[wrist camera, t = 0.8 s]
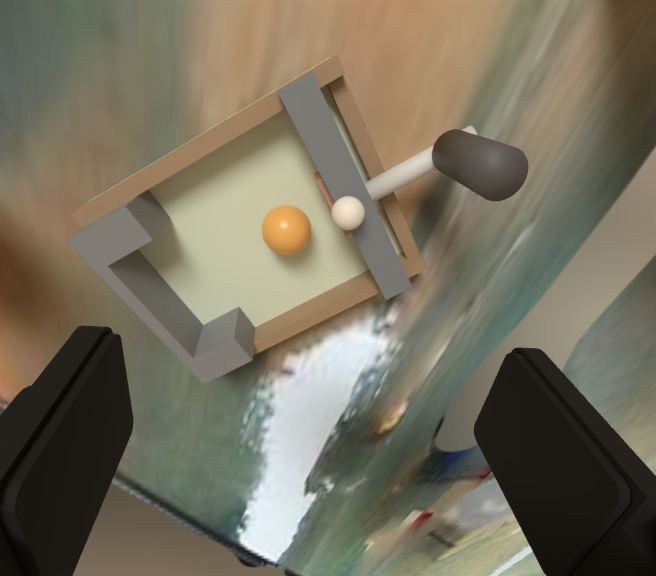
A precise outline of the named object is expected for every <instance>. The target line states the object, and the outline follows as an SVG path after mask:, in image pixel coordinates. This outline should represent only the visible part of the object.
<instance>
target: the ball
mask: <svg viewBox="0 0 656 576" xmlns="http://www.w3.org/2000/svg"><path fill="white" fill-rule="evenodd" d="M262 237H263V239H264V241H265V243H266V245H267V246H268V247H269V248H270V249H271V250H272V251H274V252H276V253H278V254H281V255H292V254H296V253H298V252H300V251H301V250H302V249H304V248H305V247H306V245H307V244H308V242H309V240H310V237H311V224H310V221H309V219H308V217H307V215H306V214H305V213H304V212H303V211H302V210H300V209H299V208H297V207H295V206H291V205H281V206H277V207H275V208H273V209H272V210H271V211H269V212H268V214H267V215H266V216H265V218H264V220H263V223H262Z"/></svg>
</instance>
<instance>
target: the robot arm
mask: <svg viewBox="0 0 656 576" xmlns="http://www.w3.org/2000/svg"><path fill="white" fill-rule="evenodd" d="M132 429H133V413H132V407H131V400H130V394H129V387H128V381H127V374H126V368H125V361H124V355H123V348H122V342H121V337H120V335H119V334H113V332H112V330H111V328H109V327H98V326H79V327H78V328H77V329H76V330H75V331H74V333H73V334H72V335H71V336H70V338H69V339H68V340H67V341H66V343H65V344H64V345H63V346H62V348H61V349H60V350H59V352H58V353H57V354H56V355H55V357H54V358H53V359H52V360H51V362H50V363H49V364H48V365H47V367H46V368H45V369H44V370H43V372H42V373H41V374H40V376H39V377H38V378H37V379H36V381H35V382H34V383H33V384H32V386H28V387H26V388H24V389H23V390H22V391H21V392H20V393H19V394H18V395H17V396H16V397H15V398H14V399H13V401H12V402H11V403H10V404H9V406H8V407H7V408H6V409H5V411H4V412H3V413H2V414H1V416H0V576H72V575H73V573H74V570H75V568H76V566H77V563H78V561H79V558H80V556H81V554H82V551H83V549H84V546H85V544H86V542H87V539H88V537H89V534H90V532H91V530H92V527H93V525H94V522H95V520H96V518H97V515H98V513H99V510H100V508H101V506H102V503H103V501H104V498H105V496H106V494H107V491H108V489H109V486H110V484H111V482H112V479H113V477H114V474H115V472H116V470H117V467H118V465H119V462H120V460H121V458H122V455H123V453H124V450H125V448H126V446H127V443H128V441H129V438H130V436H131V433H132ZM474 435H475V438H476V441H477V443H478V445H479V447H480V449H481V451H482V453H483V455H484V457H485V458H486V460H487V462H488V464H489V466H490V468H491V470H492V472H493V474H494V476H495V478H496V480H497V482H498V484H499V486H500V488H501V490H502V492H503V494H504V496H505V498H506V500H507V502H508V504H509V506H510V507H511V509H512V511H513V513H514V515H515V517H516V519H517V521H518V523H519V525H520V527H521V529H522V531H523V533H524V535H525V537H526V539H527V541H528V543H529V545H530V547H531V549H532V551H533V553H534V555H535V556H536V558H537V560H538V562H539V564H540V566H541V568H542V570H543V572H544V573H545V575H546V576H656V476H655V475H654V474H653V472H652V471H651V470H650V469H649V468H648V467H647V466H646V465H645V464H644V462H643V461H642V460H641V459H640V458H639V457H638V456H637V455H636V454H635V453H634V451H633V450H632V449H631V448H630V447H629V446H628V445H627V444H626V443H625V441H624V440H623V439H622V438H621V437H620V436H619V435H618V434H617V433H616V431H615V430H614V429H613V428H612V427H611V426H610V425H609V424H608V423H607V421H606V420H605V419H604V418H603V417H602V416H601V415H600V414H599V413H598V412H597V410H596V409H595V408H594V407H593V406H592V405H591V404H590V403H589V402H588V400H587V399H586V398H585V397H584V396H583V395H582V394H581V393H580V392H579V390H578V389H577V388H576V387H575V386H574V385H573V384H572V383H571V382H570V381H569V379H568V378H567V377H566V376H565V375H564V374H563V373H562V372H561V371H560V369H559V368H558V367H557V366H556V365H555V364H554V363H553V362H552V361H551V360H550V358H549V357H548V356H547V355H546V354H545V353H544V352H543V351H542V350H540V349H537V348H515V349H513V350H512V352H511V353H508V354H507V355H506V357H505V358H504V361H503V363H502V365H501V367H500V369H499V372H498V374H497V376H496V378H495V381H494V383H493V385H492V387H491V390H490V392H489V394H488V396H487V398H486V401H485V403H484V405H483V407H482V409H481V412H480V414H479V416H478V418H477V420H476V423H475V425H474Z"/></svg>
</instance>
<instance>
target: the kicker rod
mask: <svg viewBox="0 0 656 576" xmlns="http://www.w3.org/2000/svg"><path fill="white" fill-rule="evenodd" d="M277 92H278V94H279V96H280V98H281V100H282V102H283V104H284V105H285V107H286V109H287V111H288V113H289V115H290V117H291V119H292V121H293V123H294V125H295V127H296V129H297V130H298V132H299V134H300V136H301V138H302V140H303V142H304V144H305V146H306V148H307V150H308V152H309V154H310V155H311V157H312V159H313V161H314V163H315V165H316V167H317V169H318V172H316V173H315V174H314V175H315V178H316V181H317V183H318V185H319V187H320V188H321V190H322V192H323V194H324V196H325V198H326V200H327V202H328V204H329V205H330V207H331V209H332V212H331V214H332V219H333V221H334V223H335V224H336V225H337V226H338V227H339V228H341V229H342V230H343V232H344V234H345V236H347V235H349V234H350V233H351V234H352V236H353V238H354V240H355V242H356V244H357V246H358V248H359V250H360V251H361V253H362V255H363V257H364V259H365V261H366V263H367V265H368V267H369V269H370V271H371V273H372V275H373V276H374V278H375V280H376V282H377V284H378V286H379V288H380V290H381V292H382V294H383V296H384V298H385V300H387V299H389V298H391V297H393V296H396V295H398V294H400V293H402V292H404V291H406V290H408V289H410V288H412V285H411V283H410V281H409V279H408V276H407V274H406V272H405V270H404V268H403V266H402V264H401V261H400V259H399V257H398V255H397V253H396V251H395V248H394V246H393V244H392V242H391V240H390V238H389V236H388V233H387V231H386V229H385V227H384V225H383V223H382V221H381V218H380V216H379V214H378V212H377V210H376V208H375V206H374V203H373V202H375V201H377V200H379V199H381V198H383V197H385V196H386V195H388V194H390V193H392V192H394V191H396V190H398V189H400V188H401V187H403V186H405V185H407V184H409V183H411V182H413V181H415V180H416V179H418V178H420V177H422V176H424V175H426V174H428V173H430V172H431V171H433V170H435V169H438V170H439V171H441V172H442V173H444V174H446V175H447V176H449V177H450V178H452V179H454V180H455V181H457V182H459V183H460V184H462V185H464V186H465V187H467V188H469V189H470V190H472V191H474V192H475V193H477V194H478V195H480V196H482V197H483V198H485V199H487V200H490V201H501V200H505V199H507V198H509V197H511V196H512V195H514V194H515V193H516V192H517V191H518V190H519V189H520V188H521V186H522V185H523V183H524V182H525V179H526V177H527V173H528V161H527V158H526V156H525V154H524V153H523V152H522V151H521V150H520V149H518V148H516V147H513V146H510V145H506V144H503V143H500V142H497V141H494V140H491V139H487V138H484V137H481V136H478V135H477V133H476V131H475V129H474V128H473V127H472V126H468V127H466V128H464V129H463V130H457V129H455V130H450V131H447V132H445V133H444V134H442V135H441V136H440V137H439V138H438V139H437V141H436V142H435V144H434V145H433V146H431V147H429V148H428V149H426V150H424V151H422V152H420V153H418V154H416V155H415V156H413V157H411V158H409V159H407V160H405V161H404V162H402V163H400V164H398V165H396V166H394V167H393V168H391V169H389V170H387V171H385V172H383V173H381V174H380V175H378V176H376V177H374V178H372V179H370V180H369V181H367V182H365V183H364V182H363V180H362V178H361V176H360V173H359V171H358V169H357V167H356V165H355V163H354V161H353V158H352V156H351V154H350V152H349V150H348V148H347V145H346V143H345V141H344V139H343V137H342V135H341V133H340V130H339V128H338V126H337V124H336V122H335V120H334V118H333V115H332V113H331V111H330V109H329V107H328V105H327V103H326V100H325V98H324V96H323V94H322V92H321V90H320V88H319V85H318V83H317V81H316V79H315V77H314V75H313V73H312V71H310V72H308V73H306V74H305V75H303V76H301V77H300V78H298V79H296V80H295V81H293V82H291V83H290V84H288V85H286V86H285V87H283V88H281V89H280V90H278V91H277Z"/></svg>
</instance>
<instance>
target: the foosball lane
mask: <svg viewBox="0 0 656 576" xmlns="http://www.w3.org/2000/svg"><path fill="white" fill-rule="evenodd" d="M310 71H312V73H313V75H314V77H315V79H316V81H317V83H318V85H319V88H320V90H321V92H322V94H323V96H324V98H325V100H326V103H327V105H328V107H329V109H330V111H331V113H332V115H333V118H334V120H335V122H336V124H337V126H338V128H339V130H340V133H341V135H342V137H343V139H344V141H345V143H346V145H347V148H348V150H349V152H350V154H351V156H352V158H353V161H354V163H355V165H356V167H357V169H358V171H359V173H360V176H361V178H362V180H363V182H364V183H365V182H367V181H369V180H370V179H372V178H374V177H376V176H378V175H380V174H381V173H383V172H385V171H384V169H383V166H382V164H381V162H380V159H379V157H378V155H377V152H376V150H375V148H374V145H373V143H372V141H371V138H370V136H369V134H368V131H367V129H366V127H365V124H364V122H363V120H362V118H361V115H360V113H359V111H358V108H357V106H356V104H355V101H354V99H353V97H352V94H351V92H350V90H349V87H348V85H347V83H346V80H345V78H344V76H343V74H345V73H344V71H343V68H342V66H341V64H340V61H339V59H338V57H337V55H335V56H332V57H329V58H328V59H326V60H324V61H323V62H321V63H319V64H318V65H316V66H314V67H313V68H311V69H309V70H308V71H306V72H304V73H303V74H301V75H299V76H298V77H296V78H294V79H293V80H291V81H289V82H288V83H286V84H284V85H283V86H281V87H279V88H278V89H276V90H274V91H273V92H271V93H269V94H268V95H266V96H264V97H263V98H261V99H259V100H258V101H256V102H254V103H253V104H251V105H249V106H247V107H246V108H244V109H242V110H241V111H239V112H237V113H236V114H234V115H232V116H231V117H229V118H227V119H226V120H224V121H222V122H221V123H219V124H217V125H216V126H214V127H212V128H211V129H209V130H207V131H206V132H204V133H202V134H201V135H199V136H197V137H196V138H194V139H192V140H191V141H189V142H187V143H186V144H184V145H182V146H181V147H179V148H177V149H176V150H174V151H172V152H171V153H169V154H167V155H166V156H164V157H162V158H161V159H159V160H157V161H156V162H154V163H152V164H151V165H149V166H147V167H145V168H144V169H142V170H140V171H139V172H137V173H135V174H134V175H132V176H130V177H129V178H127V179H125V180H124V181H122V182H120V183H119V184H117V185H115V186H114V187H112V188H110V189H109V190H107V191H105V192H104V193H102V194H100V195H99V196H97V197H95V198H94V199H92V200H90V201H89V202H87V203H86V204H84V205H83V206H82V207H80V208H79V209H77V210H76V211H74V212H73V213H71V214H70V216H71V217H72V218H73V219H74V220H75V221H76V222H77V224H78V225H79V226H80V227H81V228H82V229H81V230H79V231H78V232H77V233H76V234H74V235H73V236H72V237H71V238H69V239H68V240H67V243H68V244H69V245H70V246H71V247H72V248H73V249H74V250H75V251H76V252H77V253H78V254H79V255H80V256H81V257H82V258H83V259H84V260H85V261H86V262H87V263H88V264H89V265H90V267H91V268H92V269H93V270H94V271H95V272H96V273H97V274H98V275H99V276H100V277H101V278H102V279H103V280H104V281H105V282H106V283H107V284H108V285H109V286H110V287H111V288H112V289H113V290H114V292H115V293H116V294H117V295H118V296H119V297H120V298H121V299H122V300H123V301H124V302H125V303H126V304H127V305H128V306H129V307H130V308H131V309H132V310H133V311H134V312H135V313H136V314H137V315H138V317H139V318H140V319H141V320H142V321H143V322H144V323H145V324H146V325H147V326H148V327H149V328H150V329H151V330H152V331H153V332H154V333H155V334H156V335H157V336H158V337H159V338H160V339H161V340H162V342H163V343H164V344H165V345H166V346H167V347H168V348H169V349H170V350H171V351H172V352H173V353H174V354H175V355H176V356H177V357H178V358H179V359H180V360H181V361H182V362H183V363H184V364H185V366H186V367H187V368H188V369H189V370H190V371H191V372H192V373H193V374H194V375H195V376H196V377H197V378H198V379H199V380H200V381H201V382H202V383H203V384H206V383H208V382H210V381H212V380H214V379H216V378H218V377H220V376H222V375H224V374H226V373H228V372H230V371H232V370H234V369H236V368H238V367H240V366H242V365H244V364H246V363H248V362H250V361H252V360H253V355H255V354H257V353H259V352H261V351H263V350H265V349H267V348H269V347H271V346H273V345H276V344H278V343H280V342H282V341H284V340H286V339H288V338H290V337H292V336H294V335H296V334H298V333H300V332H302V331H304V330H306V329H308V328H310V327H312V326H314V325H316V324H318V323H320V322H322V321H324V320H326V319H328V318H330V317H332V316H334V315H336V314H338V313H340V312H342V311H344V310H346V309H348V308H350V307H352V306H354V305H356V304H358V303H360V302H362V301H364V300H366V299H368V298H370V297H372V296H374V295H376V294H378V293H380V292H381V290H380V288H379V286H378V284H377V282H376V280H375V278H374V276H373V275H372V273H371V271H370V269H369V267H368V265H367V263H366V261H365V259H364V257H363V255H362V253H361V251H360V250H359V248H358V246H357V244H356V242H355V240H354V238H353V236H352V234H351V233H350V234H349V235H347V236H345V234H344V232H343V230H342V229H341V228H339V227H338V226H337V225H336V224H335V223H334V221H333V219H332V214H331V212H332V209H331V207H330V205H329V204H328V202H327V200H326V198H325V196H324V194H323V192H322V190H321V188H320V187H319V185H318V183H317V181H316V178H315V175H314V174H315V173H316V172H318V169H317V167H316V165H315V163H314V161H313V159H312V157H311V155H310V154H309V152H308V150H307V148H306V146H305V144H304V142H303V140H302V138H301V136H300V134H299V132H298V130H297V129H296V127H295V125H294V123H293V121H292V119H291V117H290V115H289V113H288V111H287V109H286V107H285V105H284V104H283V102H282V100H281V98H280V96H279V94H278V92H277V91H278V90H280V89H281V88H283V87H285V86H286V85H288V84H290V83H291V82H293V81H295V80H296V79H298V78H300V77H301V76H303V75H305V74H306V73H308V72H310ZM373 203H374V206H375V208H376V210H377V212H378V214H379V216H380V218H381V221H382V223H383V225H384V227H385V229H386V231H387V233H388V236H389V238H390V240H391V242H392V244H393V246H394V248H395V251H396V253H397V255H398V257H399V259H400V261H401V264H402V266H403V268H404V270H405V272H406V274H407V276H408V278H410V277H412V276H414V275H416V274H418V273H420V272H422V271H424V270H426V269H428V267H427V265H426V262H425V260H424V258H423V256H422V255H421V254H420V252H419V250H418V248H417V245H416V243H415V241H414V238H413V236H412V234H411V231H410V229H409V227H408V224H407V222H406V220H405V218H404V215H403V213H402V211H401V208H400V206H399V204H398V201H397V199H396V197H395V194H394V192H392V193H390V194H388V195H386V196H385V197H383V198H381V199H379V200H377V201H375V202H373ZM281 205H291V206H295V207H297V208H299V209H300V210H302V211H303V212H304V213H305V214H306V215H307V217H308V219H309V221H310V224H311V237H310V240H309V242H308V244H307V245H306V247H305V248H304V249H302V250H301V251H300V252H298V253H296V254H292V255H281V254H278V253H276V252H274V251H272V250H271V249H270V248H269V247H268V246H267V245H266V243H265V241H264V239H263V237H262V223H263V220H264V218H265V216H266V215H267V214H268V212H269V211H271V210H272V209H273V208H275V207H277V206H281Z"/></svg>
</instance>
